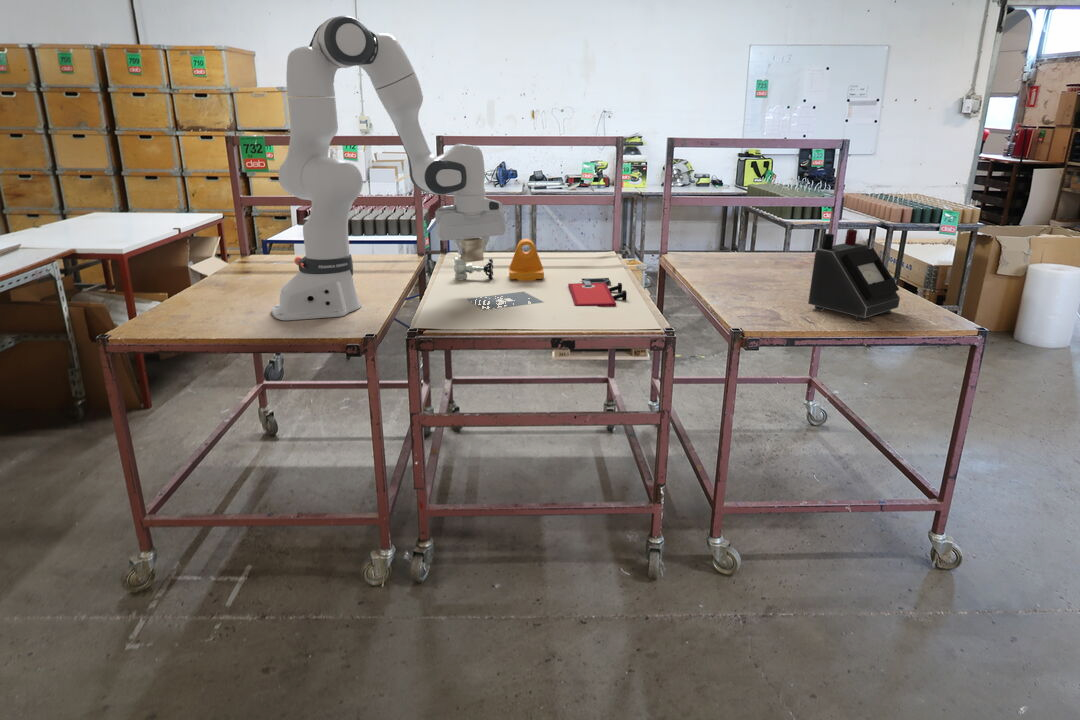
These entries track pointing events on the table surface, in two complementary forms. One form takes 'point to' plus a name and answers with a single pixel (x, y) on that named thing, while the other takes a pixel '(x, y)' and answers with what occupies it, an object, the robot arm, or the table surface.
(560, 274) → the table surface
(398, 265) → the table surface
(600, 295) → the red board with handle
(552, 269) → the table surface
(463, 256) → the maple block
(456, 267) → the valve
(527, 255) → the bracket
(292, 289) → the robot arm
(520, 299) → the grey mat
